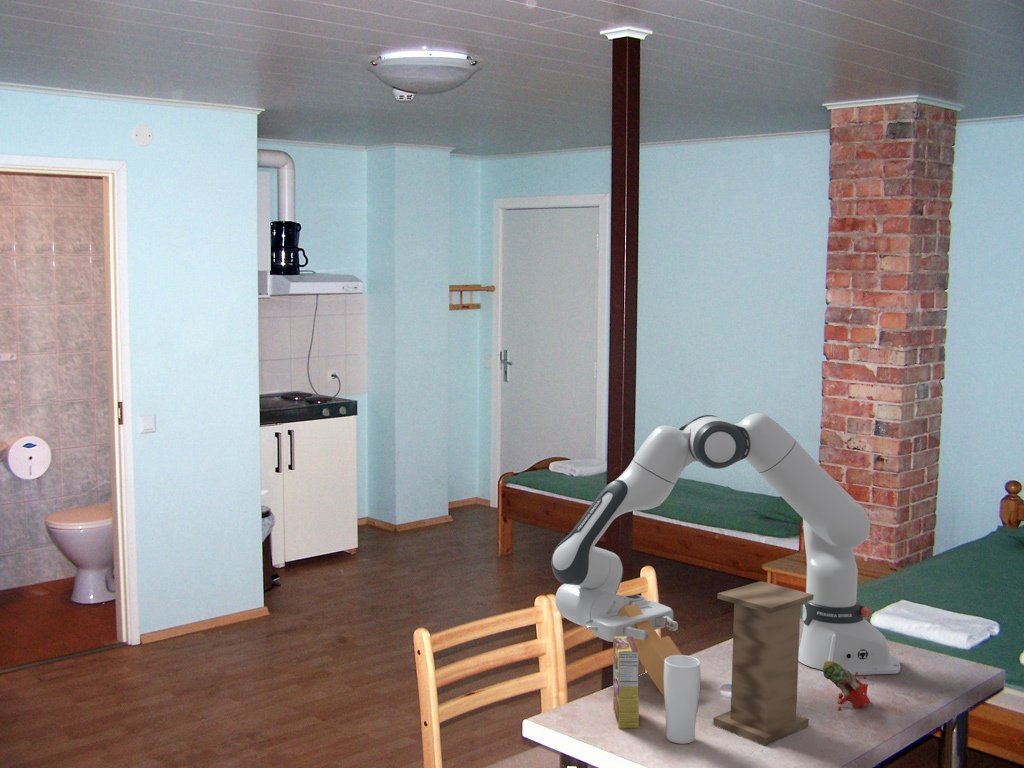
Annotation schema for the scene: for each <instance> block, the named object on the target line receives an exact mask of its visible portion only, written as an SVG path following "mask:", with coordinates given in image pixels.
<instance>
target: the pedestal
mask: <svg viewBox="0 0 1024 768" xmlns="http://www.w3.org/2000/svg"><path fill="white" fill-rule="evenodd" d="M813 597H814V595H813V594H809V593H806V591H801V590H797V589H793V588H790V587H785V586H782V585H779V584H773V583H771V582H766V581H762V580H761V581H757V582H753V583H750V584H746V585H742V586H739V587H735V588H732V589H731V588H730V589H728V590H725V591H721V592H718V593H717V597H716V599H718V600H722V601H724V602H725V601H726V602H729V603H732V604H733V629H732V632H733V633H732V634H733V635H732V638H733V639H732V661H731V663H732V664H731V668H732V669H731V689H730V690H731V693H730V694H731V695H730V710H729V711H726V712H723V713H721V714H719V715H717V716H715V717H713V722H712V723H713V726H714V725H715V727H717V726H718V727H717V728H719V727H720V728H719V729H722V728H723V729H722V730H724V729H725V730H724V731H727V732H729V731H730V733H733V734H734V733H735V735H737V736H739V735H740V736H739V737H742V738H744V739H746V740H749V741H751V742H755V743H757V744H759V745H762V746H765V747H767V746H769V745H771V744H773V743H776V742H778V741H779V740H782V739H785V738H787V737H789V736H790V735H793V734H795V733H798V732H799V731H801V730H804V729H806V728H808V727H809V723H810V722H809V721H810V719H809V718H807V717H805V716H802V715H799V714H797V707H798V706H797V704H798V682H799V678H798V677H799V661H798V656H799V646H800V629H801V628H800V626H801V625H800V622H801V605H803V604H804V603H805V602H808V601H811V600H813Z"/></svg>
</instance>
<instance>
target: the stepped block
mask: <svg viewBox="0 0 1024 768" xmlns="http://www.w3.org/2000/svg"><path fill="white" fill-rule="evenodd" d="M641 614H643V613H642V611H641V610H640V608H639V607H638V605H637V604H632V605H628V606H624V607H623V608H622V609H621V610H620V612H619V615H622V616H624V615H625V616H628V617H634V616H637V615H641ZM635 629H644V630H647V631H648V633H649V634H648V639H645V640H640V639H638V638H637V639H635V638H633V640H634V642H635V644H636V647H637V649H638V651H639V663H641V664H642V666H643V668H644V670H645V671H646V672H647V674H648V676H650V679H652V681H653V683H654V684H655V686H656V687H657V689H658V691H660V694H662V696H663V697H664V660H665V658H667V657H669V656H673V655H683V654H682V653H681V651H680V650H679V648H678V647H677V645H676V644H675V642H674V641H673V639H672V638H671V636H670V635H665V636H663V637H660V636H659V634H658V633H657V631H656V630H654V628H653V627H652V626H651V624H650V623H649V621H648V620H646V621H642V622H639V623H636V624H635Z"/></svg>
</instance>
